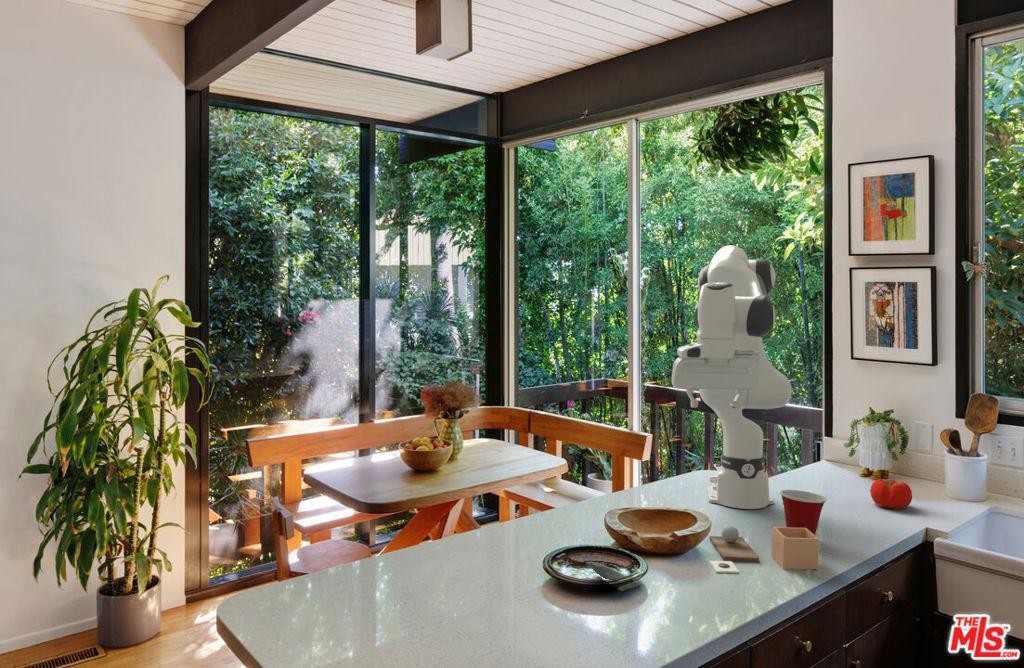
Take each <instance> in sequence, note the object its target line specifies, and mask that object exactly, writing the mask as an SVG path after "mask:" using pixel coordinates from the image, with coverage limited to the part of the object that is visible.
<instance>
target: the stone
mask: <svg viewBox="0 0 1024 668" xmlns="http://www.w3.org/2000/svg"><path fill="white" fill-rule="evenodd" d="M585 565H587V566H588V567H589V568H591V569H592V570H593V572H594V571H595V572H596V573H597V574H599V575H600V576H601V577H603V578H605V579H609V580H618V579H621V578H623V577H625V576H626V575H625V574H624V573H621V572H619V571H617V570H615V569H614V568H612V567H610V566H607V565H606V564H603V563H601V562H594V561H585ZM595 572H594V573H595ZM640 586H641V582H638V581H636V580H635V581H633V582H632V583H629V584H626V585H623V586H620V587H619V588H618V589H617V590H618V591H621V592H624V591H626V590H630V589H633V588H638V587H640Z"/></svg>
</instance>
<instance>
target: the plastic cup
mask: <svg viewBox="0 0 1024 668" xmlns="http://www.w3.org/2000/svg"><path fill="white" fill-rule="evenodd" d="M779 494H780V495H781V500H782V505H783V512H784V513H783V514H784V518H785V526H786V527H792V528H807V529H808V530H809V531H810V532H812V533H813V534H814V535H815V536H816V532H817V530H818V525H819V522H820V517H821V514H822V510H823V507H824V504H825V503H826V502H827V498H826V497H825V496H823V495H821V494H817V493H814V492H810V491H805V490H797V489H781V491H779Z"/></svg>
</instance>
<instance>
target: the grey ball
mask: <svg viewBox="0 0 1024 668" xmlns="http://www.w3.org/2000/svg"><path fill="white" fill-rule="evenodd" d="M721 536H722V537H723V539H724V540H725V541H727V542H730V543H732V542H735V541H736V540H737V539H738V537H740V533H739V530H738V528H737V527H736V526H733V525H726V526H724V527H723V528H722V529H721Z"/></svg>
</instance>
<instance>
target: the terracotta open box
mask: <svg viewBox="0 0 1024 668" xmlns="http://www.w3.org/2000/svg"><path fill="white" fill-rule="evenodd" d="M771 545H772V548H771V557H772V559H774V561H775V562H776V563H777V564H778V565H779V566H780V567H781V569H783V570H800V569H817V570H816V571H819V557H820V556H819V554H820V553H819V552H820V538H819V537H817V536H816V534H815V535H814V534H813V533H812V532H810V531H809V530H808V529H807V528H792V527H785V526H784V527H783V526H780V527H778V526H773V527H772V544H771Z"/></svg>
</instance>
